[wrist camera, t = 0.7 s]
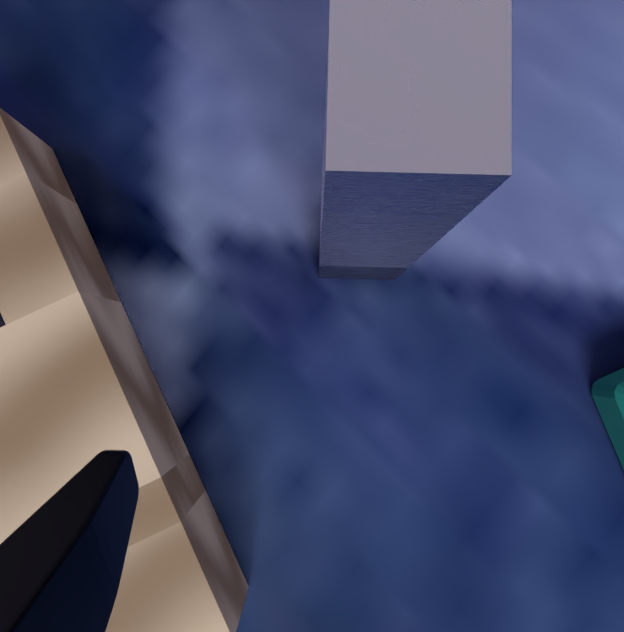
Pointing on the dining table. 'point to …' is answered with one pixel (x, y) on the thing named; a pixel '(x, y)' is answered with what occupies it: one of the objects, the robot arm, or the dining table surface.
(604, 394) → the digital multimeter
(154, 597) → the socket block
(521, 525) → the dining table surface
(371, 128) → the square bit
